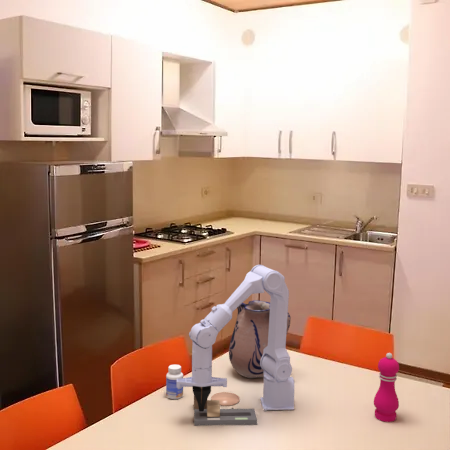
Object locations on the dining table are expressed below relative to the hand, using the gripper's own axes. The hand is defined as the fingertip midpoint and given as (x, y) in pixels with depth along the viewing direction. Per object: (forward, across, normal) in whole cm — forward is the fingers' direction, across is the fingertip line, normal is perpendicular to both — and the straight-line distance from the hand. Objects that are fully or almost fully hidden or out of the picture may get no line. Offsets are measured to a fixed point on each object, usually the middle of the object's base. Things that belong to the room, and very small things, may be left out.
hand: (201, 409), depth 166 cm
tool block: (+3, 0, -8) cm, 9 cm away
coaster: (+3, -8, -13) cm, 16 cm away
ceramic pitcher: (+3, -21, -33) cm, 39 cm away
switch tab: (+1, -4, 0) cm, 4 cm away
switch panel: (+3, -7, 0) cm, 8 cm away
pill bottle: (+3, +8, -16) cm, 18 cm away
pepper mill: (+3, -55, 0) cm, 55 cm away
